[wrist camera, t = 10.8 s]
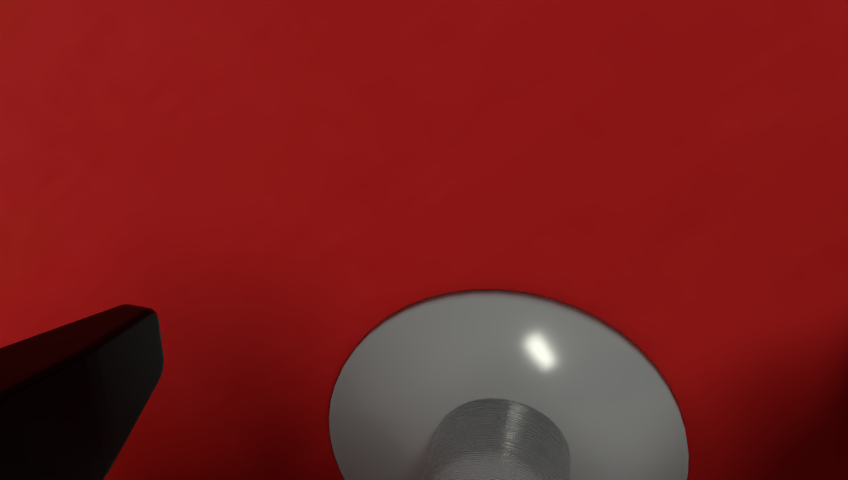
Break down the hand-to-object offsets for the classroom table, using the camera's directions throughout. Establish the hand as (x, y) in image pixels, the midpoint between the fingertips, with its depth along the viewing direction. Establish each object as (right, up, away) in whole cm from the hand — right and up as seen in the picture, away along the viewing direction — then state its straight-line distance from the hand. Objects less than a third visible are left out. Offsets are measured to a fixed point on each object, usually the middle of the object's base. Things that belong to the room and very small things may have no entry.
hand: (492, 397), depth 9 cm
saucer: (+2, -5, +16) cm, 17 cm away
